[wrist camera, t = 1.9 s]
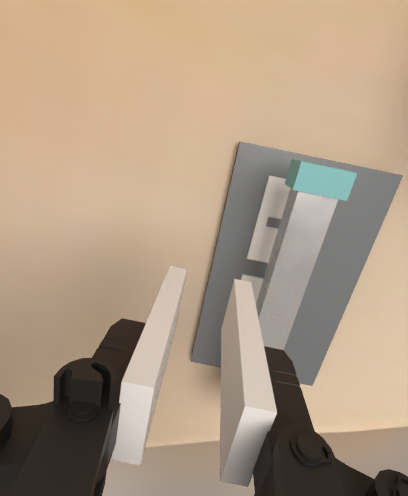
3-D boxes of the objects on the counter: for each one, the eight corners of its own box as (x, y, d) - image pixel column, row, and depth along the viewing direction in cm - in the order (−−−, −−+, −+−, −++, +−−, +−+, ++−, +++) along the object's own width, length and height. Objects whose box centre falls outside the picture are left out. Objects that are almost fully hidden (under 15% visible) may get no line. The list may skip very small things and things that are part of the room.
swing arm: (256, 409, 32) (259, 434, 30) (221, 402, 32) (220, 427, 30) (341, 169, 23) (357, 173, 20) (291, 158, 23) (301, 161, 20)
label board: (191, 354, 38) (186, 392, 33) (239, 141, 29) (243, 141, 23) (309, 378, 39) (325, 420, 33) (395, 174, 29) (439, 182, 23)
